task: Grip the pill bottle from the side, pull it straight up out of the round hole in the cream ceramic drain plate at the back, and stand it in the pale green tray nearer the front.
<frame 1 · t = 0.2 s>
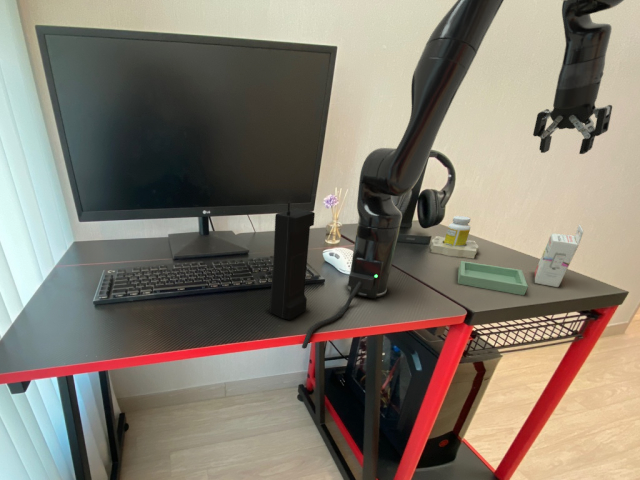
hand: (563, 152, 85), 31 cm above the table, tool tilted 20°, fingers open, 8 cm apart
basin tray: (488, 280, 87), on the table
pill bottle: (452, 250, 109), resting in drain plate
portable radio: (288, 311, 75), on the table
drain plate: (452, 250, 109), on the table
ink cartridge box: (544, 280, 87), on the table
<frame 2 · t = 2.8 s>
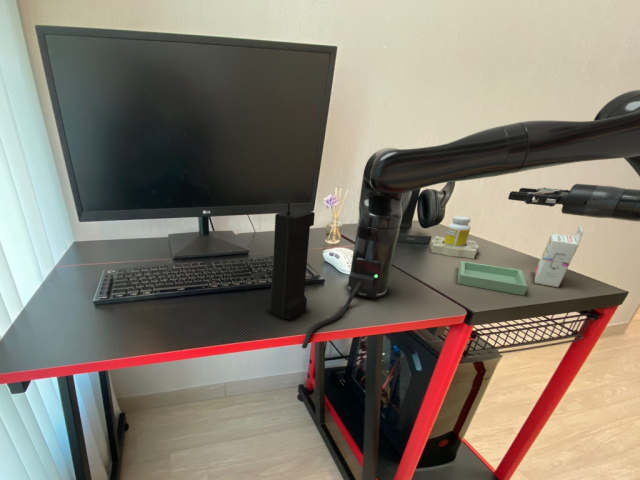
hand: (514, 193, 92), 20 cm above the table, tool horizontal, fingers open, 8 cm apart
nothing on the table moved.
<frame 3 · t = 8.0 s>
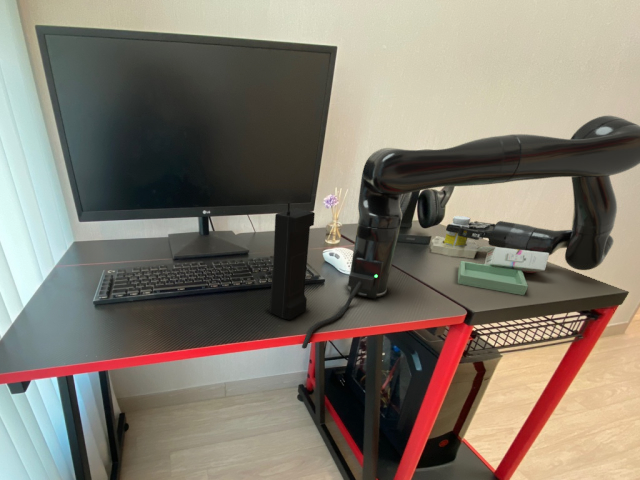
hand: (451, 225, 107), 8 cm above the table, tool horizontal, fingers closed on pill bottle, 6 cm apart
pill bottle: (452, 250, 109), resting in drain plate, touching gripper
ink cartridge box: (541, 264, 87), point 4 cm above the table, touching basin tray
everything else where it was.
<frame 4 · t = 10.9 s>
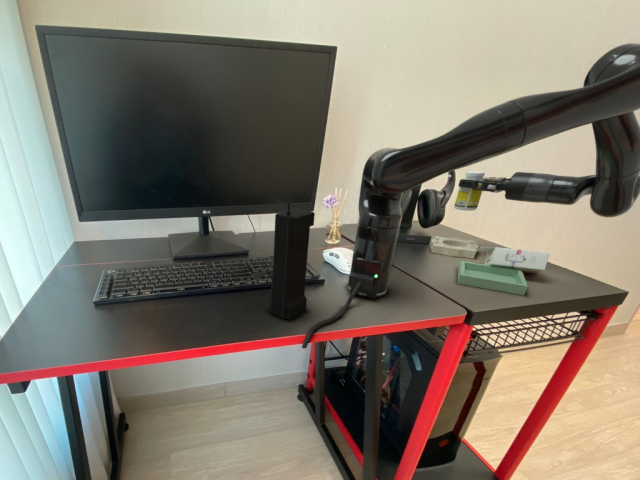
hand: (464, 181, 101), 22 cm above the table, tool horizontal, fingers closed on pill bottle, 6 cm apart
pill bottle: (464, 209, 103), point 14 cm above the table, touching gripper
everything else where it was.
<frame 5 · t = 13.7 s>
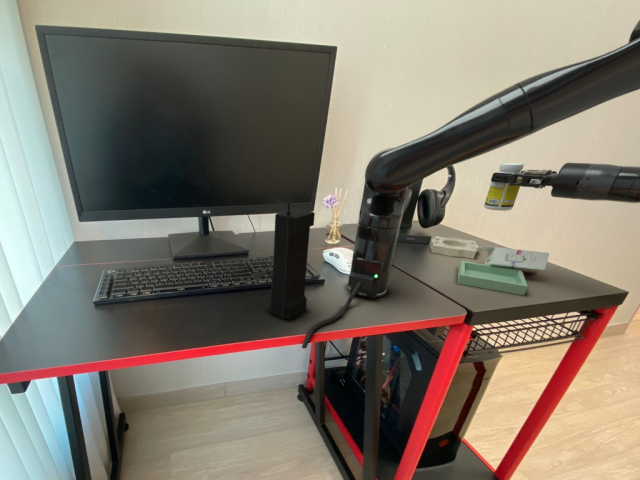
hand: (497, 175, 83), 26 cm above the table, tool horizontal, fingers closed on pill bottle, 6 cm apart
pill bottle: (497, 209, 86), point 17 cm above the table, touching gripper
everything else where it was.
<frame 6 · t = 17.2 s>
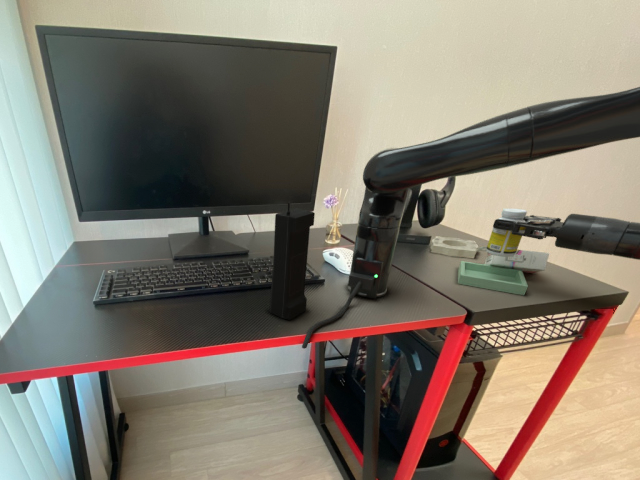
hand: (499, 221, 81), 16 cm above the table, tool horizontal, fingers closed on pill bottle, 6 cm apart
pill bottle: (499, 254, 83), point 8 cm above the table, touching gripper
everything else where it was.
when the fingers open (9 cm above the table, at t = 19.8 s): pill bottle stays where it is, resting on basin tray.
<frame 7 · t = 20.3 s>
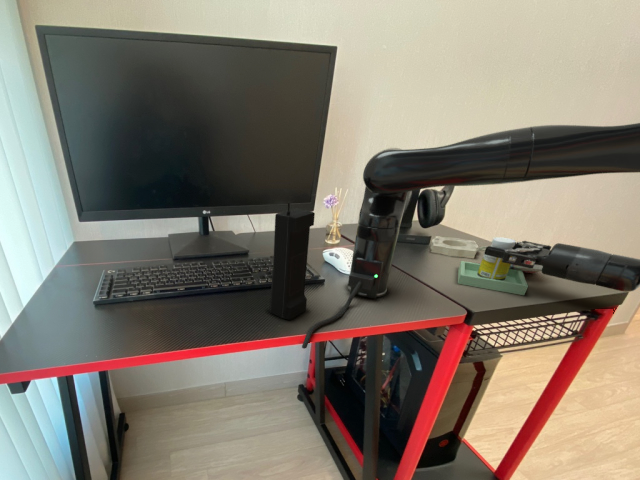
hand: (491, 246, 84), 9 cm above the table, tool horizontal, fingers open, 8 cm apart
pill bottle: (489, 280, 87), resting on basin tray
everything else where it was.
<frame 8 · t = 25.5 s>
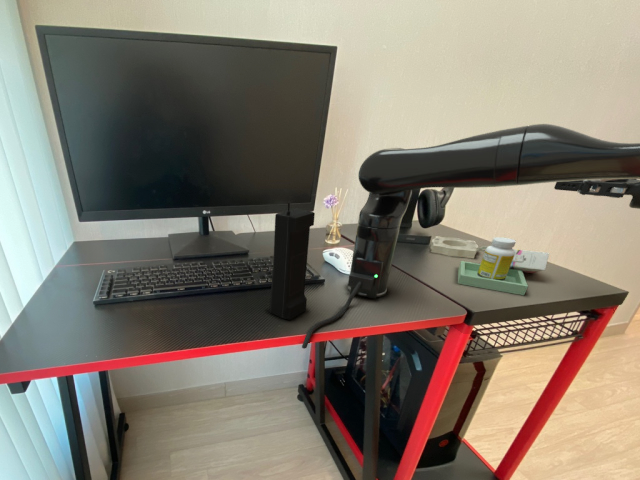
hand: (561, 181, 71), 26 cm above the table, tool horizontal, fingers open, 8 cm apart
nothing on the table moved.
at the end: pill bottle inside the target area in the basin tray (0.1 cm from its centre), point 0.3 cm above the basin tray's base; pill bottle tilted 0°; the gripper is holding nothing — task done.
